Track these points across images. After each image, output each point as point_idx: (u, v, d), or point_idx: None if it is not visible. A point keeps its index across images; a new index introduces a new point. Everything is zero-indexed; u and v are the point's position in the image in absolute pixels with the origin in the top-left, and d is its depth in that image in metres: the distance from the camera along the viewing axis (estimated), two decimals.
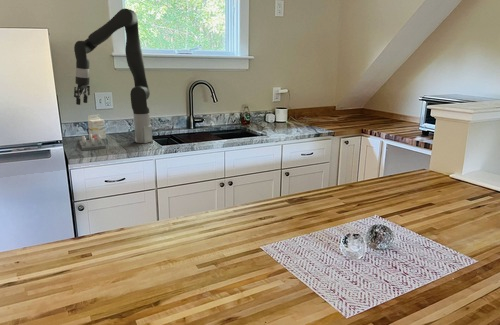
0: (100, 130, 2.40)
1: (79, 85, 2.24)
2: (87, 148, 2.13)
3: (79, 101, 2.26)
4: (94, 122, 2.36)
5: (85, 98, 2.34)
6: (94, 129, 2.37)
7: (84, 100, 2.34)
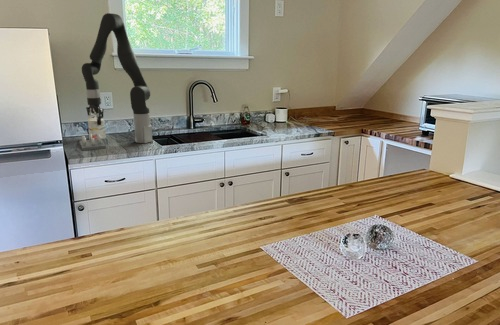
0: (100, 130, 2.40)
1: (98, 105, 2.35)
2: (87, 148, 2.13)
3: None
4: (94, 122, 2.36)
5: None
6: (94, 129, 2.37)
7: None
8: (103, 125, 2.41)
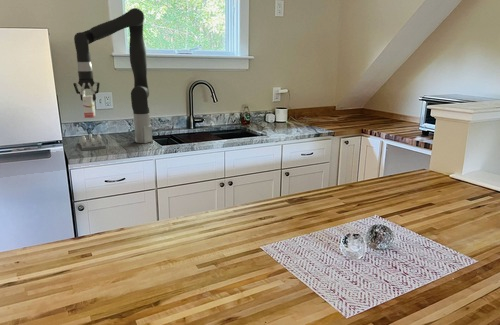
0: (93, 107, 2.22)
1: None
2: (87, 148, 2.13)
3: None
4: (92, 98, 2.17)
5: None
6: (92, 106, 2.18)
7: None
8: None
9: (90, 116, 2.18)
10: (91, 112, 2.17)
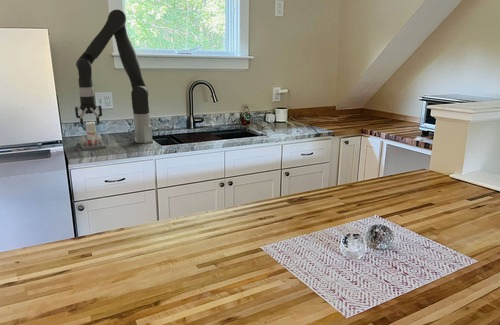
0: None
1: (94, 104, 2.19)
2: (87, 148, 2.13)
3: None
4: None
5: (82, 120, 2.18)
6: (95, 133, 2.19)
7: None
8: None
9: None
10: (95, 139, 2.19)
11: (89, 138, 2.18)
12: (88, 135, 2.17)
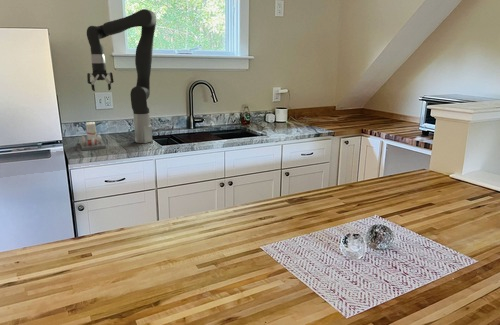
0: None
1: None
2: (87, 148, 2.13)
3: None
4: None
5: None
6: (95, 133, 2.19)
7: None
8: None
9: None
10: (95, 139, 2.19)
11: (89, 138, 2.18)
12: (88, 135, 2.17)
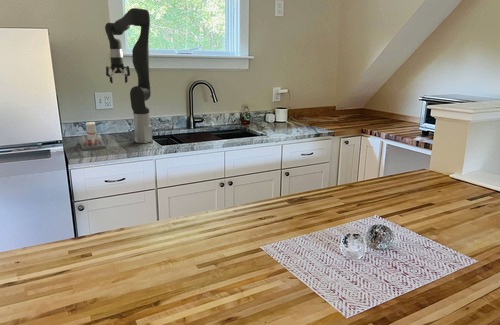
0: None
1: None
2: (87, 148, 2.13)
3: None
4: None
5: None
6: (95, 133, 2.19)
7: None
8: None
9: None
10: (95, 139, 2.19)
11: (89, 138, 2.18)
12: (88, 135, 2.17)
